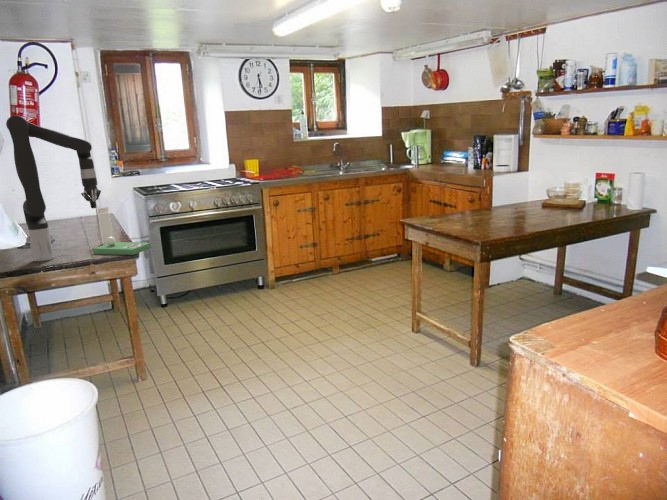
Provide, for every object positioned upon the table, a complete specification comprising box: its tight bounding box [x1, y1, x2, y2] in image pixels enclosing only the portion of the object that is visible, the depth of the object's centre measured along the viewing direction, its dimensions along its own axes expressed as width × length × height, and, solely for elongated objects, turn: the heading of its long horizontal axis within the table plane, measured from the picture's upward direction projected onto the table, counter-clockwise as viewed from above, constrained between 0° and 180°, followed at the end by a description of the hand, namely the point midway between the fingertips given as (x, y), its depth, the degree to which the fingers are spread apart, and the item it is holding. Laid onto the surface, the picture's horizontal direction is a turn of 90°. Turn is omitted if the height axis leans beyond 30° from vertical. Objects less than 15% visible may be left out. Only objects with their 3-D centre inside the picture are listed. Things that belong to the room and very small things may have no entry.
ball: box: [106, 237, 117, 246], centre depth 279 cm, size 5×5×5 cm
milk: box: [97, 207, 115, 245], centre depth 297 cm, size 6×6×22 cm
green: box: [92, 241, 152, 256], centre depth 278 cm, size 16×26×3 cm, turn 74°
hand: (93, 208), depth 277 cm, fingers closed
